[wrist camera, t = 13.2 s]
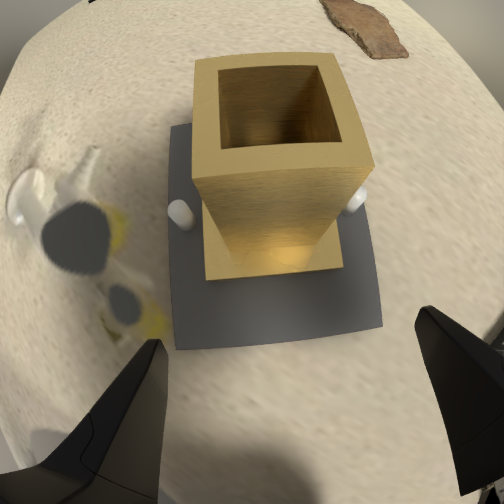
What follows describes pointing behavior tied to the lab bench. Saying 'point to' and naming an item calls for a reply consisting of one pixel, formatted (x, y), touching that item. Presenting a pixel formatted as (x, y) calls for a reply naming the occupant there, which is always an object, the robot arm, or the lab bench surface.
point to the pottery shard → (366, 28)
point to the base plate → (266, 288)
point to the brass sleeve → (274, 162)
